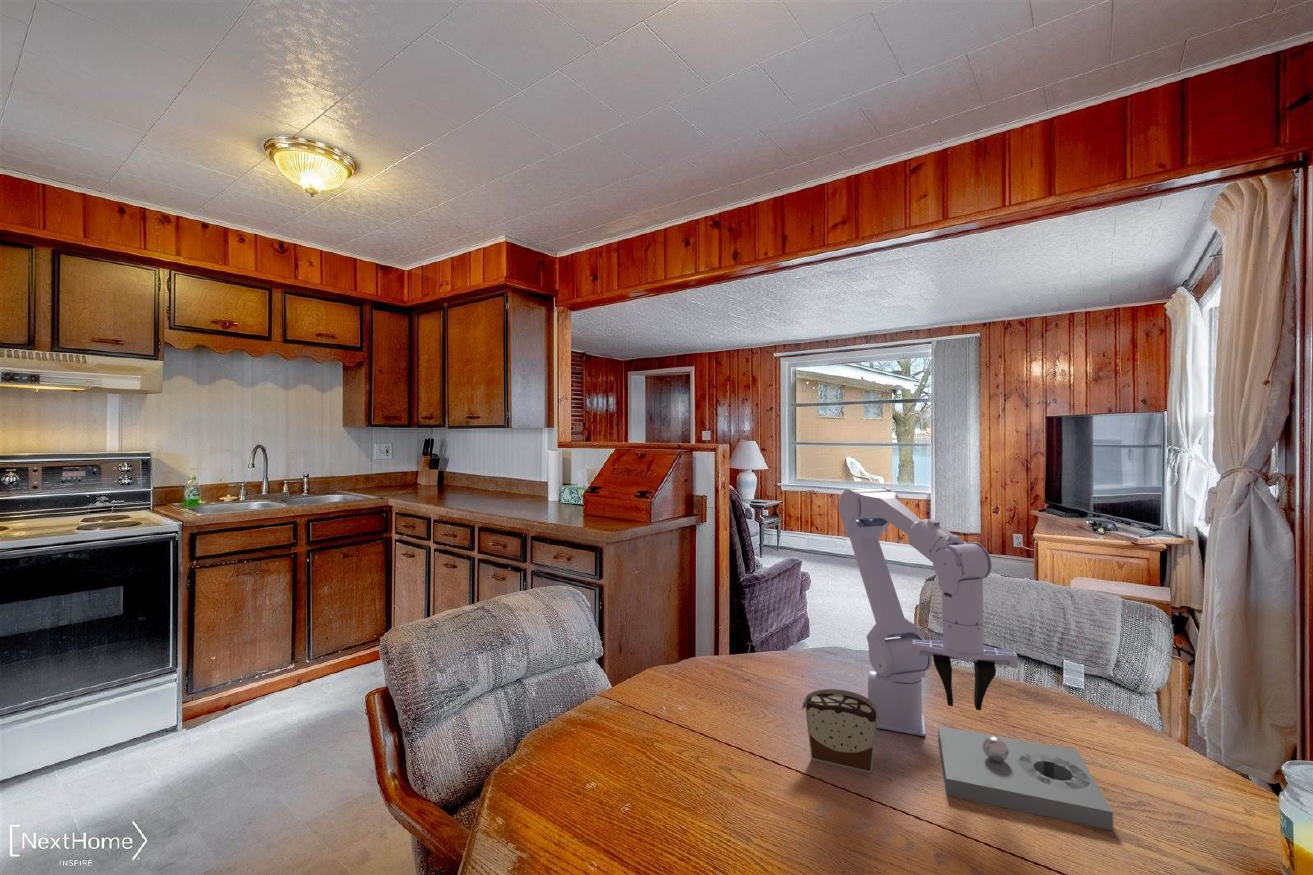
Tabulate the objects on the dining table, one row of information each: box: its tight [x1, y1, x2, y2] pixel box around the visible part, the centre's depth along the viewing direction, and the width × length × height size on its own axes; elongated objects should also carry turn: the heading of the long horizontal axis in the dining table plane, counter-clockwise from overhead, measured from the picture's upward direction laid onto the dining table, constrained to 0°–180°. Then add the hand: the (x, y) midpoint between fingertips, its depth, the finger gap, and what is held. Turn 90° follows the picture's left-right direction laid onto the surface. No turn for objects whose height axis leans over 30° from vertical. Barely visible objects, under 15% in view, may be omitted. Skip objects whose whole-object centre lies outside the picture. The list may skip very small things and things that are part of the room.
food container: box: [801, 688, 881, 774], centre depth 94 cm, size 12×6×10 cm, turn 65°
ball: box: [983, 735, 1009, 762], centre depth 88 cm, size 4×4×4 cm
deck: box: [937, 725, 1114, 831], centre depth 87 cm, size 20×16×2 cm
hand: (963, 705), depth 90 cm, fingers open, 3 cm apart
